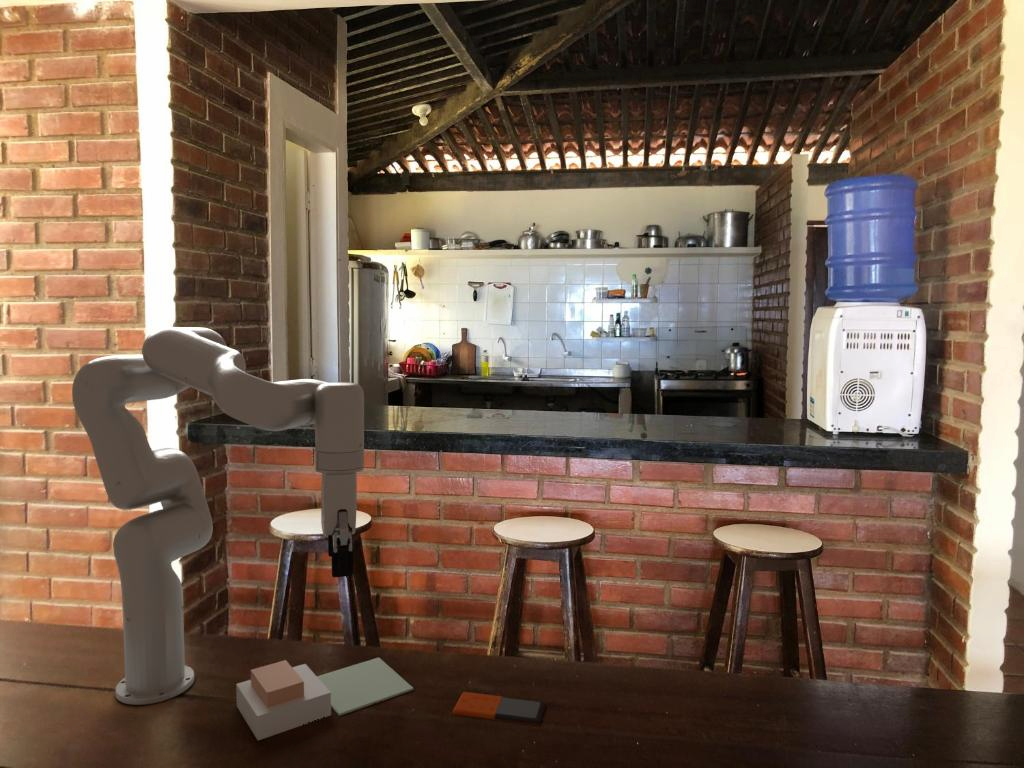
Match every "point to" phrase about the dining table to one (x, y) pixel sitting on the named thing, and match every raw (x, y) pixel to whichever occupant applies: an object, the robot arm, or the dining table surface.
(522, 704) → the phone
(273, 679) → the salmon rectangular block
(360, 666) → the mat
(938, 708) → the dining table surface
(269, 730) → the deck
